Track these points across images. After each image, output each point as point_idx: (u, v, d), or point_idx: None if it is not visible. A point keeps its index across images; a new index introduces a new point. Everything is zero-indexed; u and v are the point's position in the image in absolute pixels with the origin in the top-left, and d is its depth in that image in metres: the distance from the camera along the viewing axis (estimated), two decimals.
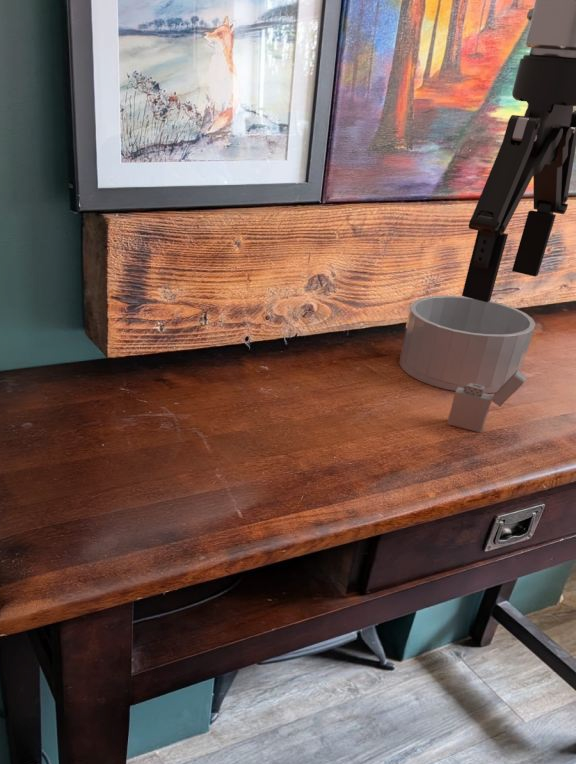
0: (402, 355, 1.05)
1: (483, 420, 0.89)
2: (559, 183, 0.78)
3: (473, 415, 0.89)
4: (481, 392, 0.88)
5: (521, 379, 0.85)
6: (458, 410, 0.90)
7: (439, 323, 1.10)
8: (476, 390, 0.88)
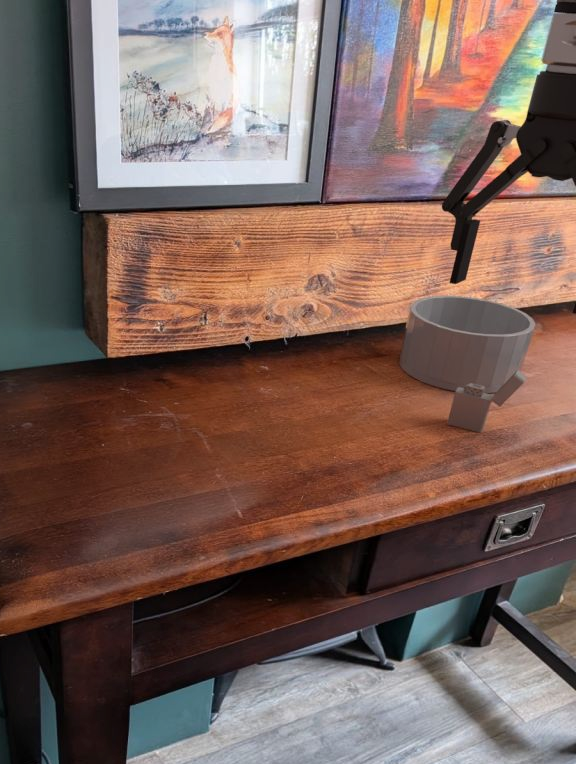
0: (402, 355, 1.05)
1: (483, 420, 0.89)
2: None
3: (473, 415, 0.89)
4: (481, 392, 0.88)
5: (521, 379, 0.85)
6: (458, 410, 0.90)
7: (439, 323, 1.10)
8: (476, 390, 0.88)
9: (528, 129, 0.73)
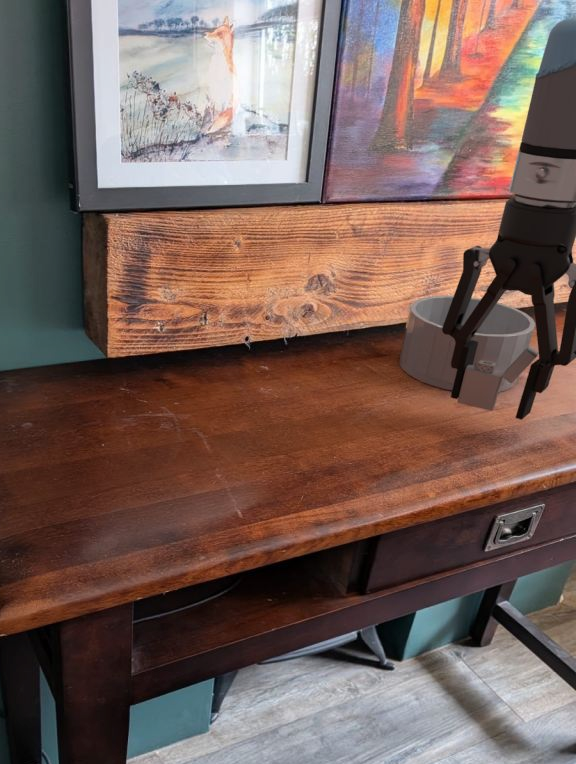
0: (402, 355, 1.05)
1: (494, 398, 0.87)
2: None
3: (484, 393, 0.87)
4: (492, 369, 0.86)
5: (533, 354, 0.83)
6: (468, 388, 0.88)
7: (439, 323, 1.10)
8: (487, 367, 0.86)
9: (499, 248, 0.80)
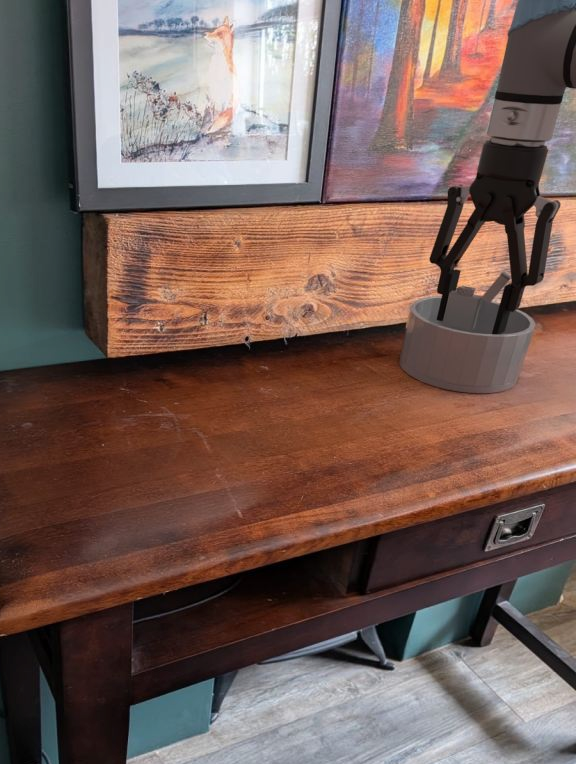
0: (402, 355, 1.05)
1: (474, 318, 1.01)
2: None
3: (465, 314, 1.01)
4: (472, 292, 1.00)
5: (506, 277, 0.96)
6: (452, 310, 1.02)
7: (439, 323, 1.10)
8: (467, 291, 1.00)
9: (478, 184, 0.94)
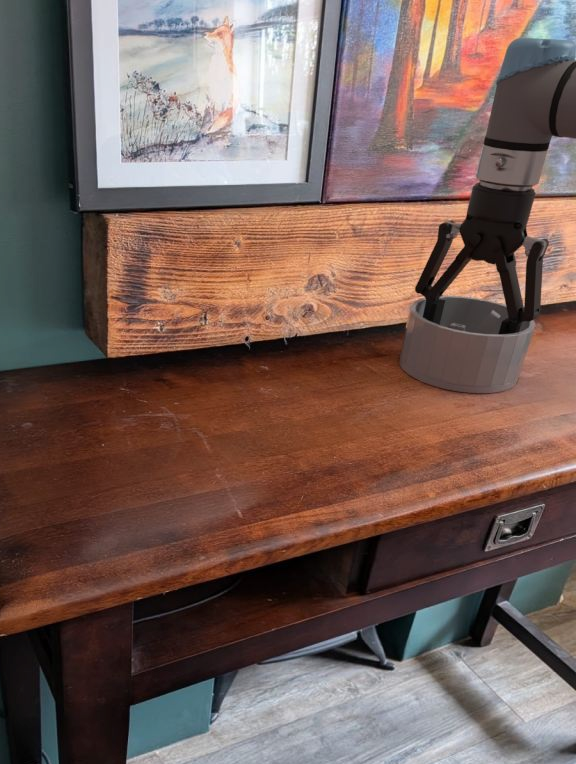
0: (402, 355, 1.05)
1: None
2: None
3: None
4: (462, 330, 1.03)
5: (495, 317, 0.99)
6: None
7: None
8: (458, 328, 1.03)
9: (468, 225, 0.96)
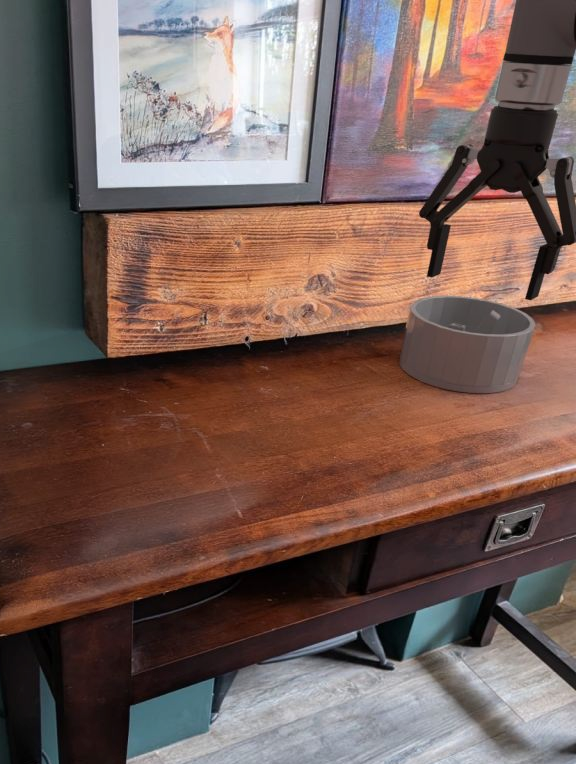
0: (402, 355, 1.05)
1: None
2: None
3: None
4: (462, 330, 1.03)
5: (495, 317, 0.99)
6: None
7: (439, 323, 1.10)
8: (458, 328, 1.03)
9: (486, 152, 0.91)
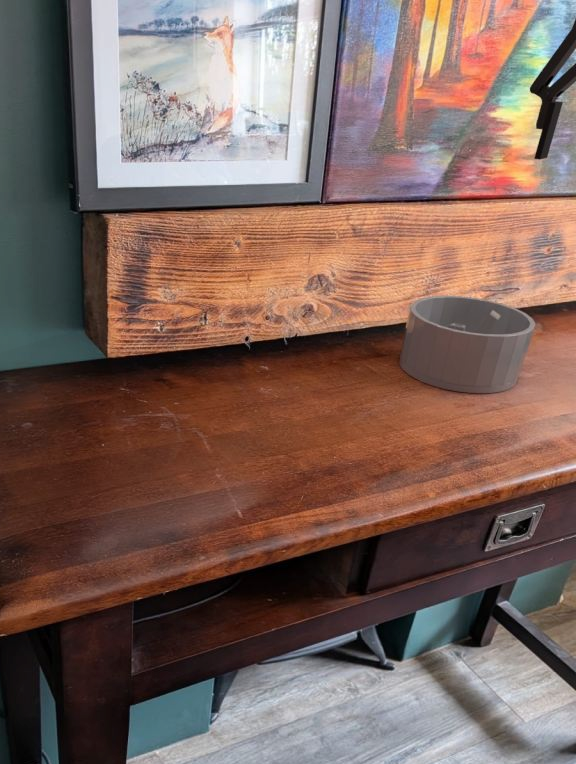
0: (402, 355, 1.05)
1: None
2: None
3: None
4: (462, 330, 1.03)
5: (495, 317, 0.99)
6: None
7: (439, 323, 1.10)
8: (458, 328, 1.03)
9: None
